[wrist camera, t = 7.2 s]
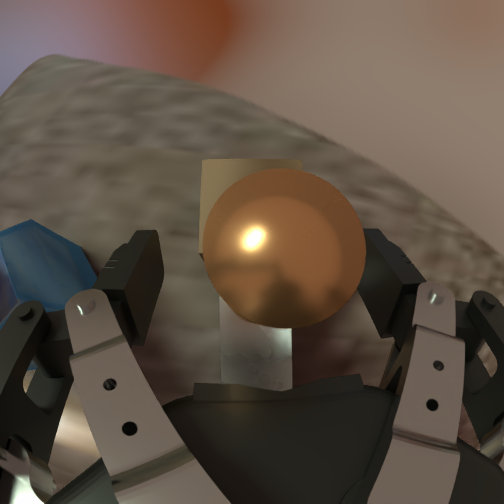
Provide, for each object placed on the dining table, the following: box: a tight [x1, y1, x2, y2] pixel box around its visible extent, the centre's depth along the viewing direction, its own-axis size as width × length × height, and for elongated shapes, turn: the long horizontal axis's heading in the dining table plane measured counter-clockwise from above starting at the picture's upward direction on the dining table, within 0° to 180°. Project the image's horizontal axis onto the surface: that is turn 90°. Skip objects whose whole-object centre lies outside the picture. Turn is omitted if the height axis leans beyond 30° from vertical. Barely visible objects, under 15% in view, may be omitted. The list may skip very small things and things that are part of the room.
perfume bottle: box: [0, 219, 97, 370], centre depth 12 cm, size 6×6×12 cm
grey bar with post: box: [203, 168, 366, 391], centre depth 10 cm, size 3×16×13 cm, turn 1°
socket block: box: [199, 159, 303, 261], centre depth 17 cm, size 5×5×5 cm
